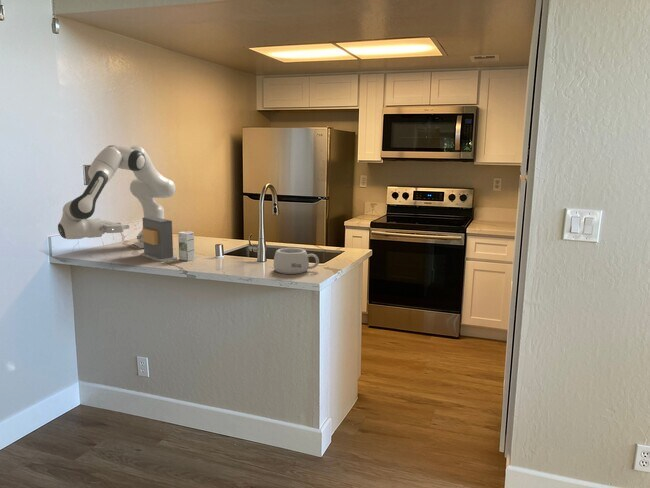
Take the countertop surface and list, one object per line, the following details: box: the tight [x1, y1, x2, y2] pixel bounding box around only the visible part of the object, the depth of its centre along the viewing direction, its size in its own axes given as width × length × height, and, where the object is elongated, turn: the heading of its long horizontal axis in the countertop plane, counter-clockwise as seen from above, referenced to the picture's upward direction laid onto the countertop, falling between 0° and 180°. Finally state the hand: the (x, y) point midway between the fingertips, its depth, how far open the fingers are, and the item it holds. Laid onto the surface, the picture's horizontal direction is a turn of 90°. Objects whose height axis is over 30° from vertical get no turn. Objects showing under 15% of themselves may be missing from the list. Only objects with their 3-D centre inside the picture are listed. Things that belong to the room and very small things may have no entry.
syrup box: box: [177, 230, 196, 262], centre depth 268 cm, size 6×6×14 cm
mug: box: [273, 247, 320, 275], centre depth 248 cm, size 21×17×10 cm
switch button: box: [141, 227, 158, 245], centre depth 270 cm, size 12×3×7 cm, turn 44°
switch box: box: [140, 217, 178, 263], centre depth 273 cm, size 22×9×20 cm, turn 44°
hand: (124, 225), depth 259 cm, fingers open, 8 cm apart
